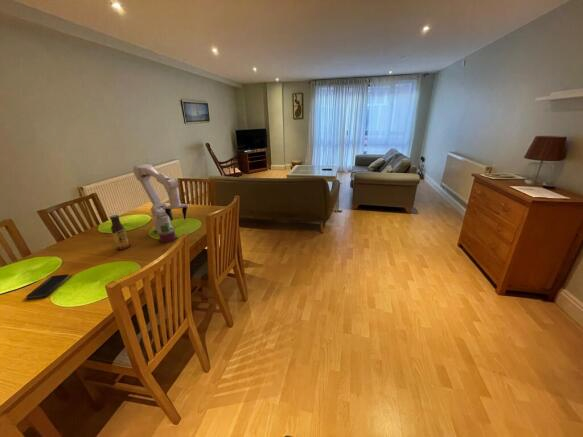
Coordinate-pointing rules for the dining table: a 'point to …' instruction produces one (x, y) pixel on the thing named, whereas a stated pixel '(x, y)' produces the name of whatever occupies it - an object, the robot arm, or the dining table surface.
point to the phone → (47, 287)
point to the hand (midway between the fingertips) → (178, 219)
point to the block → (165, 227)
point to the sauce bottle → (119, 233)
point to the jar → (167, 235)
